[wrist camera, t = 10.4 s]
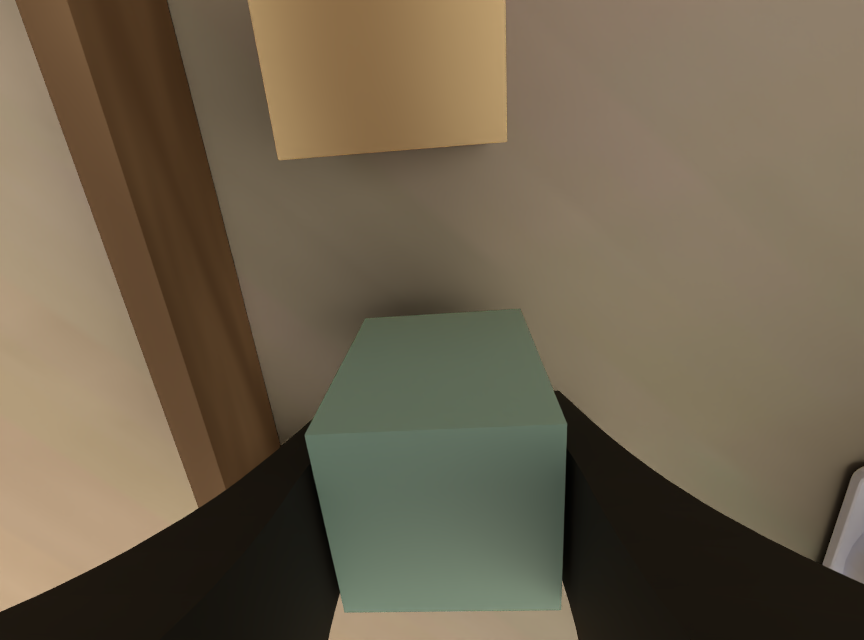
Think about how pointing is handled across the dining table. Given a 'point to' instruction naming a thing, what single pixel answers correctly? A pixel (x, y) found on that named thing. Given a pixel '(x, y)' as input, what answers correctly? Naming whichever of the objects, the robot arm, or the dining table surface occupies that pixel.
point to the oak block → (381, 74)
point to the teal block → (442, 467)
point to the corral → (158, 223)
